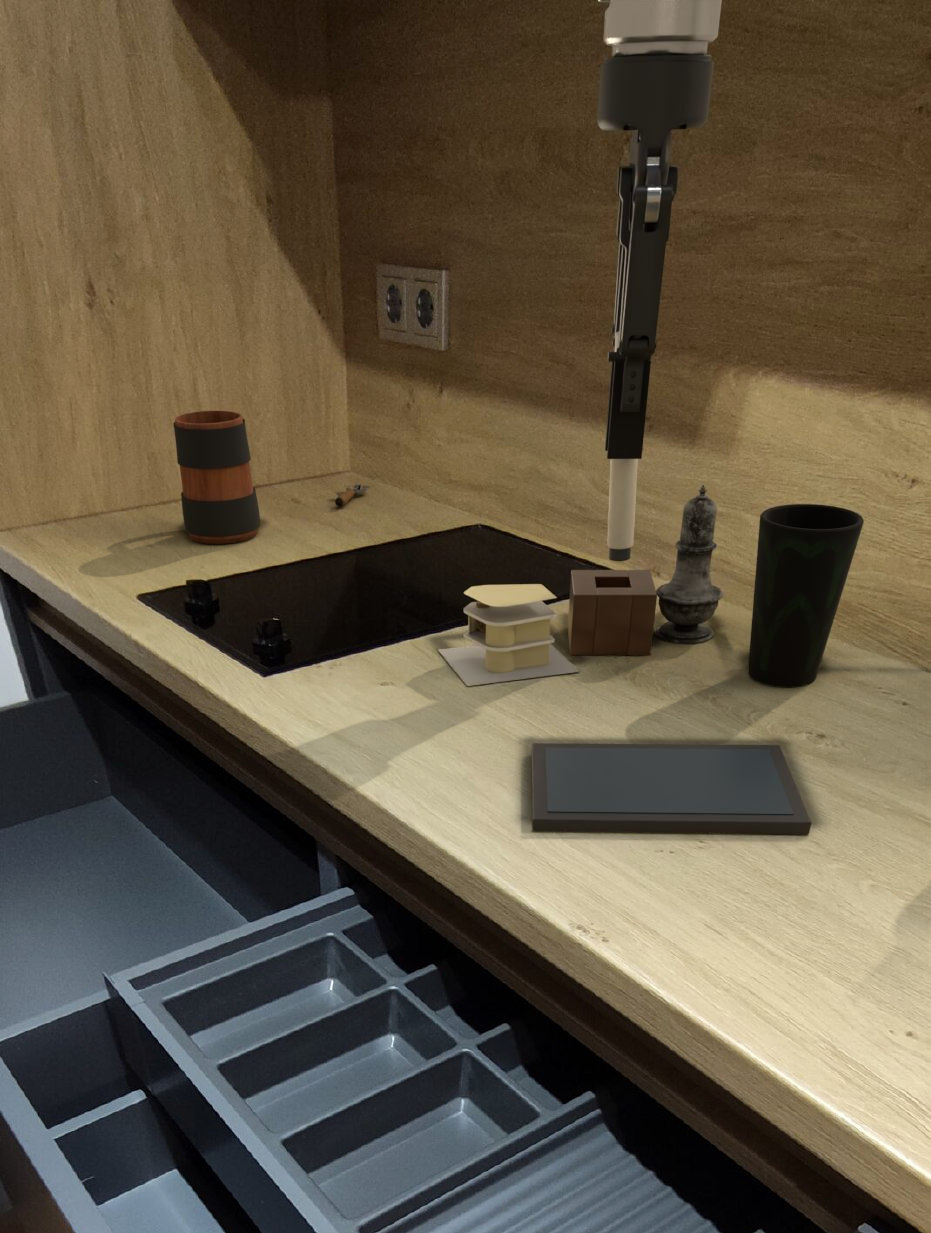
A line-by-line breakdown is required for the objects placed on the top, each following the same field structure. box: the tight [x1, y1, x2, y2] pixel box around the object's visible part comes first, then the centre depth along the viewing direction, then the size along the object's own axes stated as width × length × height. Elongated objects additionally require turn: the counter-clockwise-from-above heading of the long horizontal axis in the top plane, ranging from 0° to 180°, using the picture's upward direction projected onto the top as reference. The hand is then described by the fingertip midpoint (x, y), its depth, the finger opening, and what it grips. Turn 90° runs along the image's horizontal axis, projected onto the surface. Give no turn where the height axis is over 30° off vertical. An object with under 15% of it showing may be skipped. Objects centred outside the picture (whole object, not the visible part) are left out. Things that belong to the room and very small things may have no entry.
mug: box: [172, 410, 261, 545], centre depth 125 cm, size 9×12×12 cm
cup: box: [747, 503, 865, 688], centre depth 89 cm, size 8×8×12 cm
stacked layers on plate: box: [437, 583, 581, 687], centre depth 94 cm, size 10×9×6 cm
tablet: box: [530, 742, 812, 835], centre depth 77 cm, size 18×12×1 cm, turn 86°
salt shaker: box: [654, 484, 724, 645], centre depth 96 cm, size 6×6×12 cm
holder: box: [567, 569, 658, 656], centre depth 98 cm, size 7×7×5 cm
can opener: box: [334, 482, 368, 508], centre depth 138 cm, size 9×2×1 cm, turn 160°
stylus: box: [606, 332, 639, 562], centre depth 90 cm, size 2×2×16 cm
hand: (622, 453), depth 90 cm, fingers closed on stylus, 2 cm apart
